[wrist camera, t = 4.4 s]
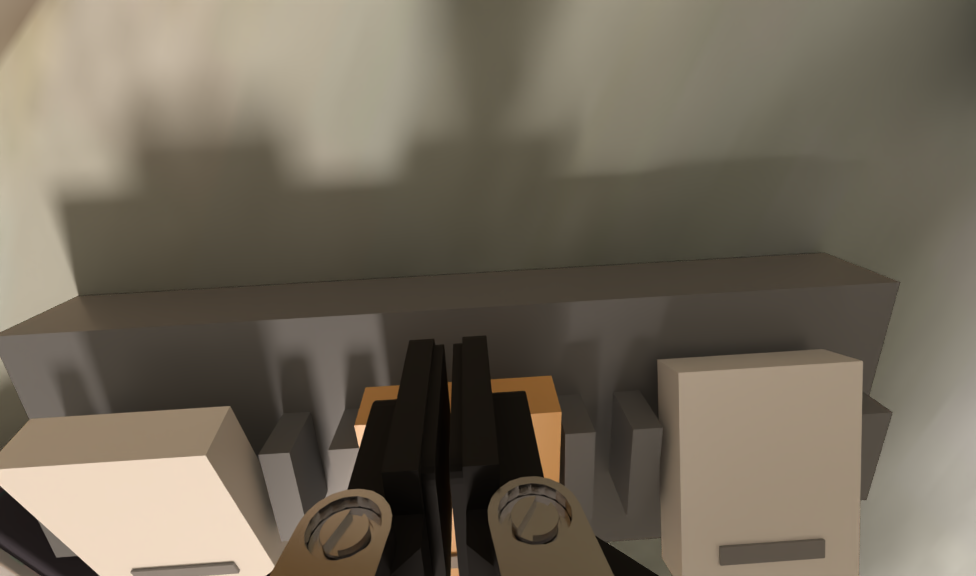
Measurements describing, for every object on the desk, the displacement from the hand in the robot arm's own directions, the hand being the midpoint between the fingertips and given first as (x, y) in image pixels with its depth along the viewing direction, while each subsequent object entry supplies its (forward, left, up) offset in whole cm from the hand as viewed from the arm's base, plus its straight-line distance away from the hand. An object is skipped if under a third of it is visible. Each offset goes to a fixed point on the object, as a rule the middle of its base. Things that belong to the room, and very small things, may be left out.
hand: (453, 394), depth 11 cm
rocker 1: (-4, +8, -1) cm, 9 cm away
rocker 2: (-4, -8, -1) cm, 9 cm away
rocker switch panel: (-4, 0, -6) cm, 7 cm away
